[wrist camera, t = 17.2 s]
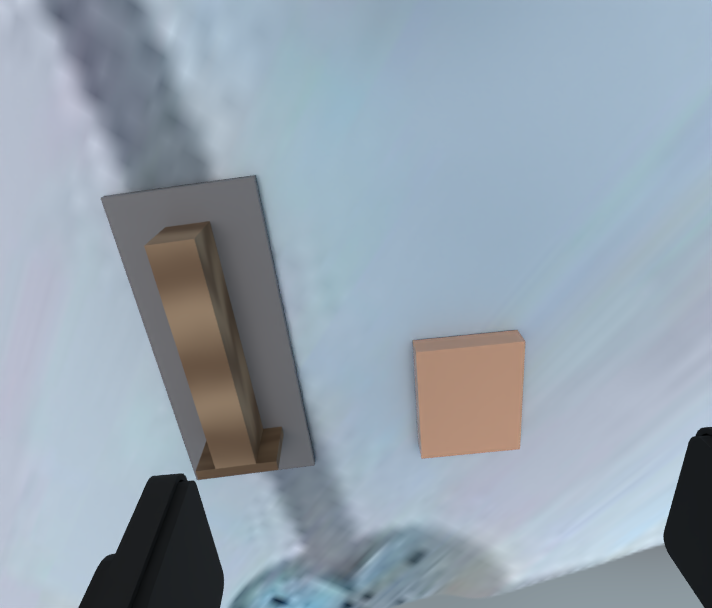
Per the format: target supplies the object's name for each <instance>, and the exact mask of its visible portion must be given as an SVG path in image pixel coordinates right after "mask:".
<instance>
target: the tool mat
mask: <svg viewBox="0 0 712 608" xmlns="http://www.w3.org/2000/svg"><path fill="white" fill-rule="evenodd" d="M101 201H102V203H103V206H104V209H105V212H106V215H107V218H108V221H109V224H110V227H111V230H112V233H113V236H114V239H115V241H116V244H117V247H118V250H119V253H120V256H121V259H122V262H123V265H124V268H125V271H126V274H127V277H128V280H129V282H130V285H131V288H132V291H133V294H134V297H135V300H136V303H137V306H138V309H139V312H140V315H141V318H142V321H143V323H144V326H145V329H146V332H147V335H148V338H149V341H150V344H151V347H152V350H153V353H154V356H155V359H156V361H157V364H158V367H159V370H160V373H161V376H162V379H163V382H164V385H165V388H166V391H167V394H168V397H169V400H170V402H171V405H172V408H173V411H174V414H175V417H176V420H177V423H178V426H179V429H180V432H181V435H182V438H183V441H184V443H185V446H186V449H187V452H188V455H189V458H190V461H191V464H192V467H193V470H194V473H195V476H196V479H197V480H198V478H197V475H196V472H195V471H196V468H197V465H198V463H199V460H200V457H201V454H202V451H203V449H204V446H205V443H206V438H205V435H204V431H203V428H202V425H201V422H200V419H199V416H198V413H197V410H196V406H195V403H194V400H193V397H192V394H191V391H190V388H189V385H188V381H187V378H186V375H185V372H184V369H183V366H182V363H181V360H180V356H179V353H178V350H177V347H176V344H175V341H174V338H173V335H172V331H171V328H170V325H169V322H168V319H167V316H166V313H165V310H164V306H163V303H162V300H161V297H160V294H159V291H158V288H157V285H156V281H155V278H154V275H153V272H152V269H151V266H150V263H149V259H148V256H147V253H146V250H145V247H144V245H146V244H147V243H148V242H149V241H150V240H151V239H152V238H154V237H155V236H156V235H157V234H158V233H159V232H160V231H161V230H163V229H164V228H165V227H171V226H178V225H185V224H192V223H200V222H207V221H210V224H211V228H212V232H213V236H214V239H215V243H216V247H217V251H218V255H219V259H220V263H221V267H222V270H223V274H224V278H225V282H226V286H227V290H228V294H229V298H230V302H231V305H232V309H233V313H234V317H235V321H236V325H237V329H238V333H239V337H240V340H241V344H242V348H243V352H244V356H245V360H246V364H247V368H248V372H249V375H250V379H251V383H252V387H253V391H254V395H255V399H256V403H257V406H258V410H259V414H260V418H261V422H262V426H263V429H266V428H274V427H281V426H282V430H283V434H284V435H283V442H282V448H281V455H280V462H279V469H278V470H282V469H290V468H298V467H306V466H314V465H315V459H314V454H313V449H312V444H311V439H310V435H309V430H308V425H307V420H306V415H305V411H304V406H303V401H302V396H301V392H300V387H299V382H298V377H297V372H296V368H295V363H294V358H293V353H292V348H291V344H290V339H289V334H288V329H287V325H286V320H285V315H284V310H283V305H282V301H281V296H280V291H279V286H278V281H277V277H276V272H275V267H274V262H273V258H272V253H271V248H270V243H269V238H268V234H267V229H266V224H265V219H264V214H263V210H262V205H261V200H260V195H259V191H258V186H257V181H256V176H255V175H254V176H247V177H239V178H232V179H225V180H218V181H210V182H203V183H196V184H188V185H181V186H174V187H167V188H159V189H152V190H145V191H138V192H130V193H123V194H116V195H109V196H104V197H102V198H101ZM272 471H274V470H272ZM264 472H266V471H264ZM256 473H258V472H256ZM248 474H250V473H248ZM240 475H242V474H240ZM232 476H234V475H232ZM224 477H226V476H224ZM216 478H218V477H216ZM208 479H210V478H208ZM200 480H202V479H200Z"/></svg>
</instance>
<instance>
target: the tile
mask: <svg viewBox="0 0 712 608" xmlns="http://www.w3.org/2000/svg"><path fill="white" fill-rule="evenodd" d="M413 357H414V375H415V392H416V410H417V427H418V444H419V449H420V453H421V458H422V459H423V458H433V457H443V456H454V455H464V454H474V453H485V452H495V451H505V450H515V449H520V437H521V417H522V397H523V377H524V357H525V340H524V339H523V337H522V336H521V335H520V333H519V332H518V330H512V331H502V332H492V333H482V334H472V335H462V336H452V337H442V338H432V339H422V340H413Z"/></svg>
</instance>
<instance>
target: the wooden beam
mask: <svg viewBox="0 0 712 608" xmlns="http://www.w3.org/2000/svg"><path fill="white" fill-rule="evenodd" d="M144 247H145V250H146V253H147V256H148V259H149V263H150V266H151V269H152V272H153V275H154V278H155V281H156V285H157V288H158V291H159V294H160V297H161V300H162V303H163V306H164V310H165V313H166V316H167V319H168V322H169V325H170V328H171V331H172V335H173V338H174V341H175V344H176V347H177V350H178V353H179V356H180V360H181V363H182V366H183V369H184V372H185V375H186V378H187V381H188V385H189V388H190V391H191V394H192V397H193V400H194V403H195V406H196V410H197V413H198V416H199V419H200V422H201V425H202V428H203V431H204V435H205V438H206V443H205V446H204V449H203V451H202V454H201V457H200V460H199V463H198V465H197V468H196V471H195V472H196V475H197V478H198V480H200V479H208V478H216V477H224V476H232V475H240V474H248V473H256V472H264V471H272V470H278V469H279V462H280V455H281V448H282V442H283V435H284V434H283V430H282V426H281V427H274V428H266V429H263V426H262V422H261V418H260V414H259V410H258V406H257V403H256V399H255V395H254V391H253V387H252V383H251V379H250V375H249V372H248V368H247V364H246V360H245V356H244V352H243V348H242V344H241V340H240V337H239V333H238V329H237V325H236V321H235V317H234V313H233V309H232V305H231V302H230V298H229V294H228V290H227V286H226V282H225V278H224V274H223V270H222V267H221V263H220V259H219V255H218V251H217V247H216V243H215V239H214V236H213V232H212V228H211V224H210V221H207V222H200V223H192V224H185V225H178V226H171V227H165V228H164V229H163V230H161V231H160V232H159V233H158V234H157V235H156V236H155V237H154V238H152V239H151V240H150V241H149V242H148V243H147V244H146V245H144Z"/></svg>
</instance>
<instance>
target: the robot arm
mask: <svg viewBox="0 0 712 608" xmlns="http://www.w3.org/2000/svg"><path fill="white" fill-rule="evenodd" d="M663 537H664V543H665V547H666V549H667V552H668V553H669V555H670V557H671V558H672V560H673V561H674V563H675V564H676V566H677V567H678V569H679V570H680V572H681V573H682V575H683V576H684V578H685V579H686V581H687V582H688V584H689V585H690V586H691V588H692V589H693V591H694V593H695V594H696V595H697V597H698V599H699V600H700V602H701V603H702V604H703V606H704V608H712V427H705V428H701V429H700V430H698V432H697V434H696V436H695V437H692V438H691V439H690V441H689V443H688V447H687V451H686V454H685V458H684V461H683V465H682V469H681V472H680V476H679V480H678V483H677V487H676V490H675V494H674V498H673V501H672V505H671V508H670V512H669V516H668V519H667V523H666V526H665V530H664V535H663ZM223 589H224V575H223V570H222V567H221V564H220V560H219V557H218V554H217V550H216V547H215V544H214V541H213V537H212V534H211V531H210V527H209V524H208V521H207V518H206V514H205V511H204V508H203V504H202V501H201V498H200V495H199V491H198V488H197V485H196V483H195V481H187V478H186V476H185V475H184V474H170V475H159V476H152V477H151V478H149V480H148V482H147V483H146V486H145V488H144V490H143V493H142V495H141V497H140V499H139V502H138V504H137V506H136V508H135V511H134V513H133V515H132V517H131V520H130V522H129V524H128V526H127V529H126V531H125V533H124V535H123V538H122V540H121V542H120V544H119V547H118V549H117V551H116V553H115V554H111V555H108V556H106V557H105V558H104V559H103V560H102V561H101V563H100V564H99V566H98V568H97V569H96V571H95V573H94V576H93V578H92V580H91V582H90V584H89V586H88V588H87V591H86V593H85V595H84V597H83V599H82V601H81V603H80V606H79V608H220V605H221V600H222V595H223Z"/></svg>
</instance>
